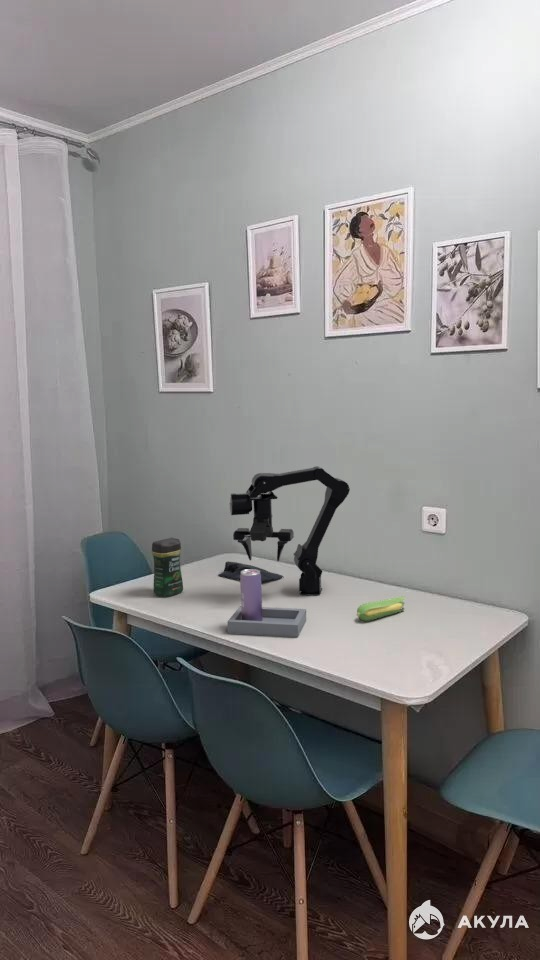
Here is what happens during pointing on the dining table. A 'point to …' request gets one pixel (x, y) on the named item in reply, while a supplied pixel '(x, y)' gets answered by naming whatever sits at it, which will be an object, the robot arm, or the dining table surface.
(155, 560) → the coffee jar
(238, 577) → the dark slate chunk
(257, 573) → the beverage can
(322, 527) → the robot arm
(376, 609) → the edible corn
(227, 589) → the dining table surface
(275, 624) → the tray
